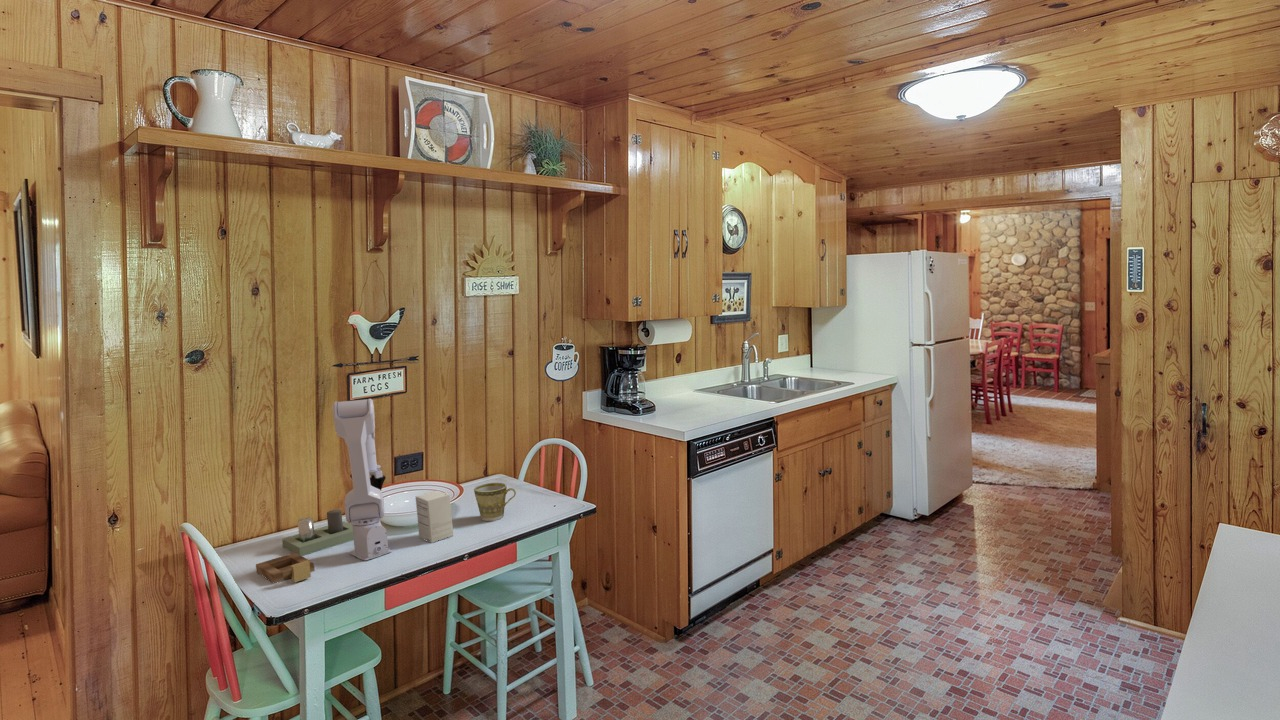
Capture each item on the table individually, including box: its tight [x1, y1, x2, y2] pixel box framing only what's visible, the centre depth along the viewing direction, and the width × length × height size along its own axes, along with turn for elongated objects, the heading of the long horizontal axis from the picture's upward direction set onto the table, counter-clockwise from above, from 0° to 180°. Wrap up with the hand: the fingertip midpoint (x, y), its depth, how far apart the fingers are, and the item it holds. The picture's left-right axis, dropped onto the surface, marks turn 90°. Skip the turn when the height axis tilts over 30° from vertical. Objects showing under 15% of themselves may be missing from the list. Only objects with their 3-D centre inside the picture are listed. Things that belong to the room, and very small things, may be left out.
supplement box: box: [415, 490, 454, 544], centre depth 205 cm, size 7×7×13 cm
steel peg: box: [297, 517, 315, 543], centre depth 202 cm, size 4×4×8 cm
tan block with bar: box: [291, 561, 312, 583], centre depth 180 cm, size 8×4×4 cm, turn 48°
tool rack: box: [281, 509, 354, 557], centre depth 206 cm, size 12×18×8 cm, turn 138°
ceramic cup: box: [473, 481, 517, 522], centre depth 220 cm, size 13×10×10 cm
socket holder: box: [255, 552, 315, 584], centre depth 185 cm, size 12×10×2 cm
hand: (369, 497), depth 212 cm, fingers open, 7 cm apart
